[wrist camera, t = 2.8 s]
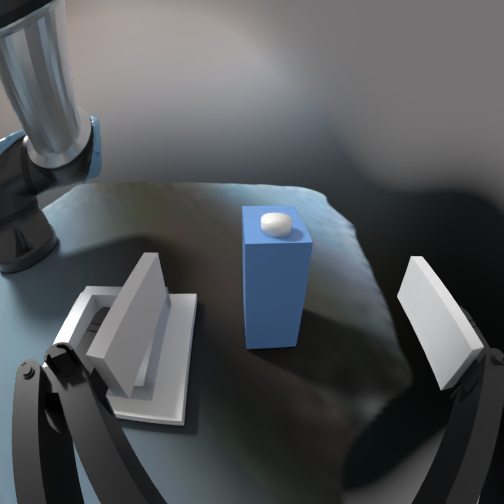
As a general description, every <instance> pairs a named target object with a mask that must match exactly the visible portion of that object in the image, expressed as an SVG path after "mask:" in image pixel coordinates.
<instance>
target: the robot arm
mask: <svg viewBox="0 0 504 504" xmlns="http://www.w3.org/2000/svg"><path fill="white" fill-rule="evenodd" d="M0 84H1V87H2V89H3V91H4V93H5V95H6V97H7V99H8V101H9V103H10V105H11V107H12V109H13V111H14V113H15V115H16V116H17V118H18V120H19V122H20V123H21V125H22V127H23V129H24V130H20V131H17V132H15V133H13V134H11V135H9V136H7V137H6V138H3V139H2V140H0V271H2V272H4V273H13V272H17V271H20V270H23V269H25V268H28V267H30V266H32V265H33V264H35V263H37V262H38V261H40V260H41V259H42V258H44V257H45V256H46V255H47V254H48V253H49V252H50V251H51V250H52V249H53V248H54V246H55V245H56V242H57V237H56V234H55V231H54V228H53V227H52V225H50V224H49V222H48V220H47V219H46V217H45V215H44V213H43V212H42V210H41V209H40V207H39V203H38V200H37V195H40V194H43V193H46V192H49V191H52V190H56V189H59V188H62V187H65V186H69V185H72V184H76V183H79V182H85V181H87V180H89V179H92V178H95V177H97V176H98V175H99V174H100V172H101V168H102V155H101V132H100V123H99V119H98V117H97V116H88V114H87V113H86V112H85V111H84V110H83V109H81V108H80V107H78V106H77V101H76V96H75V91H74V85H73V79H72V73H71V66H70V59H69V51H68V42H67V31H66V17H65V0H0ZM25 132H26V133H25ZM26 134H27V136H26ZM166 297H167V293H166V288H165V284H164V279H163V275H162V270H161V265H160V261H159V256H158V253H144V254H143V255H142V257H141V258H140V260H139V262H138V263H137V265H136V266H135V268H134V270H133V271H132V273H131V274H130V276H129V278H128V279H127V281H126V283H125V284H124V286H123V288H122V289H121V291H120V293H119V294H118V296H117V298H116V300H115V301H114V303H113V305H112V307H102V308H101V309H100V310H99V311H98V312H97V313H96V314H95V315H94V317H93V319H92V320H91V322H90V324H89V326H88V327H87V329H86V330H87V331H85V333H84V334H83V336H82V338H81V340H80V342H79V344H78V345H77V347H76V349H75V351H74V349H73V348H72V346H71V345H70V344H69V343H67V342H58V343H55V344H54V345H52V346H50V348H49V349H48V350H47V351H46V353H45V356H44V362H45V363H46V364H47V366H48V367H41V366H40V364H39V363H38V362H37V361H36V360H34V359H29V360H26V361H24V362H23V363H22V364H21V365H20V366H19V368H18V370H17V374H16V381H15V390H14V401H13V416H12V457H13V472H14V482H15V490H16V497H17V503H18V504H84V500H83V496H82V492H81V487H80V483H79V478H78V472H77V467H76V461H75V454H74V447H73V442H74V444H75V447H76V450H77V452H78V455H79V457H80V460H81V462H82V465H83V467H84V469H85V472H86V474H87V476H88V478H89V481H90V483H91V485H92V487H93V489H94V491H95V493H96V495H97V497H98V499H99V501H100V502H101V504H167V503H166V501H165V500H164V498H163V497H162V496H161V494H160V493H159V491H158V490H157V488H156V487H155V485H154V484H153V482H152V481H151V479H150V478H149V476H148V474H147V473H146V471H145V470H144V468H143V466H142V465H141V463H140V461H139V460H138V458H137V456H136V454H135V452H134V451H133V449H132V447H131V445H130V443H129V441H128V440H127V438H126V436H125V434H124V432H123V430H122V428H121V426H120V424H119V422H118V420H117V417H116V415H115V413H114V411H113V409H112V407H111V404H110V402H109V400H108V398H107V397H106V394H107V391H108V389H109V390H110V391H111V393H112V394H113V395H114V396H118V397H122V398H127V399H130V397H131V394H132V390H133V387H134V384H135V381H136V378H137V375H138V373H139V370H140V367H141V364H142V361H143V358H144V355H145V353H146V350H147V347H148V344H149V342H150V339H151V336H152V333H153V331H154V328H155V325H156V323H157V320H158V318H159V315H160V312H161V310H162V307H163V305H164V302H165V300H166ZM398 299H399V301H400V303H401V304H402V306H403V308H404V310H405V312H406V314H407V316H408V318H409V320H410V322H411V324H412V326H413V328H414V330H415V332H416V334H417V336H418V338H419V340H420V342H421V345H422V347H423V349H424V351H425V353H426V356H427V358H428V360H429V362H430V365H431V367H432V369H433V372H434V374H435V376H436V379H437V381H438V384H439V386H440V389H441V390H443V389H447V388H450V387H453V386H454V385H455V384H456V383H457V381H458V380H459V379H460V380H461V383H462V384H461V385H460V386H459V387H458V389H457V390H456V391H455V392H454V393H453V394H452V395H451V399H452V398H453V397H454V396H455V395H456V394H457V396H456V398H455V403H454V406H453V410H452V413H451V416H450V419H449V422H448V425H447V428H446V430H445V433H444V436H443V438H442V441H441V444H440V446H439V449H438V451H437V454H436V456H435V458H434V461H433V463H432V465H431V467H430V469H429V472H428V474H427V476H426V478H425V480H424V482H423V484H422V486H421V487H420V489H419V491H418V493H417V495H416V497H415V499H414V500H413V502H412V504H476V503H477V500H478V498H479V495H480V498H479V503H478V504H504V354H503V353H502V352H501V351H499V350H498V349H495V348H491V349H490V347H489V346H488V344H487V342H486V340H485V339H484V337H483V335H482V334H481V332H480V331H479V329H478V327H476V324H475V323H474V321H473V320H472V318H471V316H470V315H469V313H468V312H467V311H466V310H465V309H463V308H462V307H461V306H458V305H457V303H456V302H455V300H454V299H453V297H452V296H451V294H450V293H449V292H448V290H447V289H446V288H445V286H444V285H443V283H442V282H441V281H440V279H439V278H438V277H437V275H436V274H435V273H434V271H433V270H432V269H431V267H430V266H429V265H428V263H427V262H426V261H425V260H424V258H423V257H418V256H416V257H414V256H413V257H411V259H410V262H409V265H408V268H407V271H406V274H405V277H404V280H403V283H402V285H401V288H400V291H399V294H398Z"/></svg>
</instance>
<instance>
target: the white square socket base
mask: <svg viewBox="0 0 504 504" xmlns="http://www.w3.org/2000/svg"><path fill="white" fill-rule="evenodd" d="M122 288H123V287H104V286H86V288H85V289H84V291H83V292H81V293H80V295H79V297H78V298H77V300H76V302H75V304H74V305H73V307H72V309H71V311H70V313H69V315H68V316H67V318H66V320H65V322H64V324H63V326H62V328H61V330H60V332H59V334H58V336H57V338H56V340H55V342H54V344H55V343H58V342H67V343H69V344H70V345H71V346H72V348H73V349H74V351H75V349H76V347H77V345H78V344H79V342H80V340H81V338H82V336H83V334H84V333H85V331H87V330H86V329H87V327H88V326H89V324H90V322H91V320H92V319H93V317H94V315H95V314H96V313H97V312H98V311H99V310H100V309H101V308H102V307H112V305H113V303H114V301H115V300H116V298H117V296H118V294H119V293H120V291H121V289H122ZM165 288H166V293H167V297H166V300H165V302H164V305H163V307H162V310H161V312H160V315H159V318H158V320H157V323H156V325H155V328H154V331H153V333H152V336H151V339H150V342H149V344H148V347H147V350H146V353H145V355H144V358H143V361H142V364H141V367H140V370H139V373H138V375H137V378H136V381H135V384H134V387H133V390H132V394H131V397H130V399H127V398H122V397H118V396H114V395H113V394H112V393H111V391H110V390H109V389H108V391H107V394H106V397H107V398H108V400H109V402H110V404H111V407H112V409H113V411H114V413H115V415H116V417H117V418H121V419H128V420H134V421H142V422H150V423H159V424H170V425H183V426H184V420H185V407H186V396H187V385H188V375H189V365H190V356H191V347H192V338H193V330H194V322H195V314H196V307H197V295H196V294H169V292H168V287H165ZM54 344H53V345H54ZM43 367H48V366H47V364H46V363H44V365H43Z"/></svg>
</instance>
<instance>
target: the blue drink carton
mask: <svg viewBox="0 0 504 504" xmlns="http://www.w3.org/2000/svg"><path fill="white" fill-rule="evenodd" d="M242 226H243V296H244V318H245V336H246V349H259V348H277V347H291V346H296V343H297V338H298V333H299V327H300V322H301V316H302V310H303V304H304V298H305V292H306V286H307V279H308V273H309V266H310V259H311V252H312V244H313V242H312V240H311V238H310V236H309V234H308V232H307V230H306V227H305V225H304V223H303V221H302V219H301V217H300V215H299V213H298V211H297V209H296V207H295V206H242Z"/></svg>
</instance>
